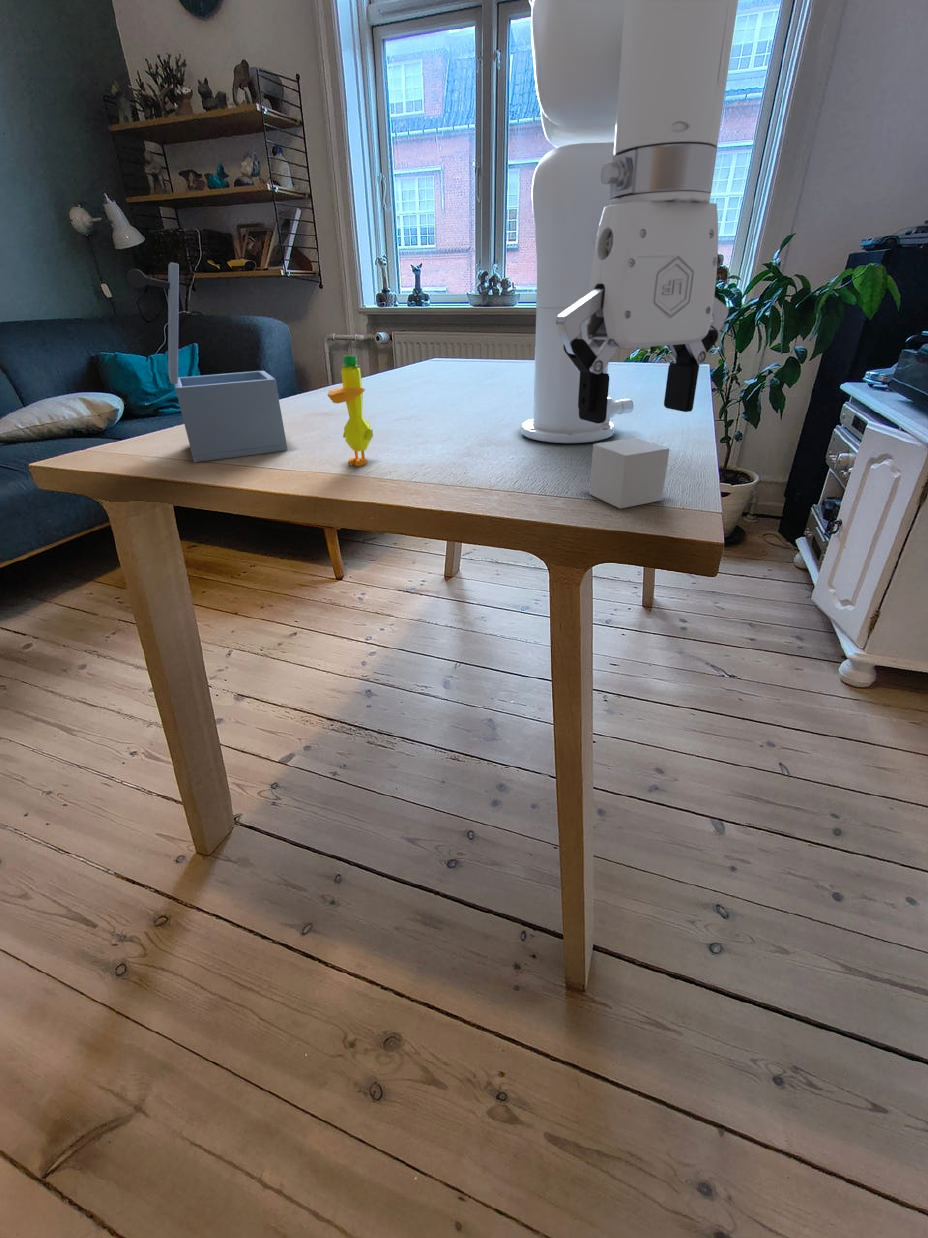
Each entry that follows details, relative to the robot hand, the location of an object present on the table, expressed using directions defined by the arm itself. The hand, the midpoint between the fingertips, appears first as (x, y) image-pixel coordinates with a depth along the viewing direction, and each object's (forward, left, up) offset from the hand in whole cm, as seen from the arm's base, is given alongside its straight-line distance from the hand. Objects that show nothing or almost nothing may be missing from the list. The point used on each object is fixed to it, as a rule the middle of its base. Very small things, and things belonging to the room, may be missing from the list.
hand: (635, 414), depth 54 cm
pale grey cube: (0, 0, -8) cm, 8 cm away
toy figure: (+20, -26, -8) cm, 34 cm away
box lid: (+36, -42, +7) cm, 56 cm away
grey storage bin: (+32, -42, -8) cm, 53 cm away
